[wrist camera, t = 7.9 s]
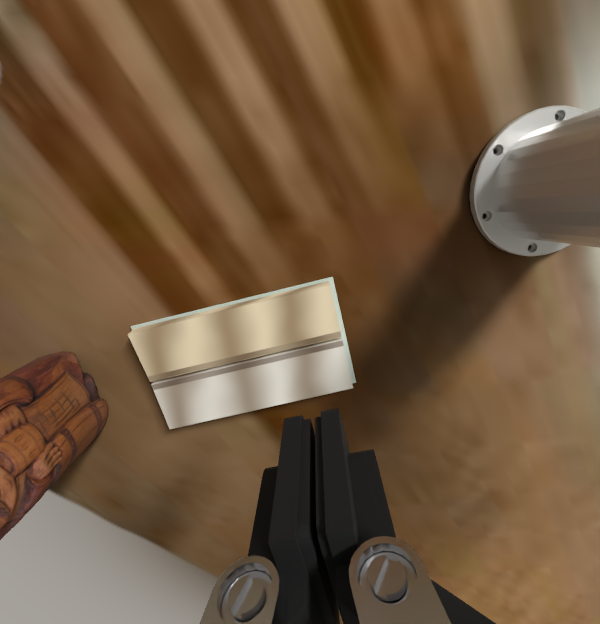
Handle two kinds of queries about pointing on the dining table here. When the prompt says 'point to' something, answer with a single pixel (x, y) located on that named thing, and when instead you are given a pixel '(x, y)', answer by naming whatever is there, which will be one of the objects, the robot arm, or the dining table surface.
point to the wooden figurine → (43, 429)
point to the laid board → (254, 383)
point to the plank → (237, 332)
